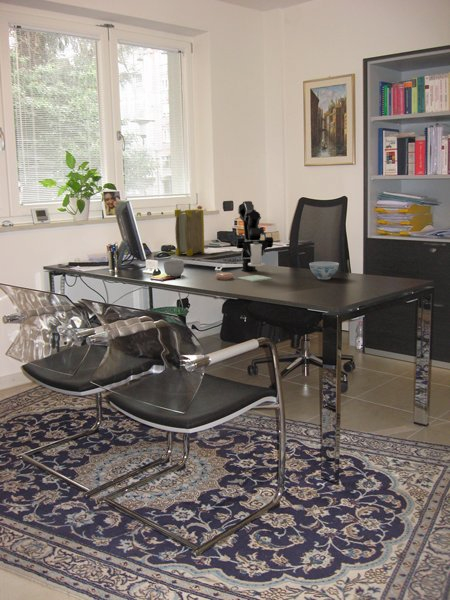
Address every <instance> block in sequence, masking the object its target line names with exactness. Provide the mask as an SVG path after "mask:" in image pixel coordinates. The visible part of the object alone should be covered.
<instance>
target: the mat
mask: <svg viewBox="0 0 450 600" xmlns="http://www.w3.org/2000/svg"><path fill="white" fill-rule="evenodd" d="M237 279H238V280H242V281H246V282H251V283H252V282H261V281H267V280H268V281H269V280H273V277H269V276H265V275H259V274H254V275H247V276H239V277H237Z"/></svg>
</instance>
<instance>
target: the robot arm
mask: <svg viewBox="0 0 450 600" xmlns="http://www.w3.org/2000/svg"><path fill="white" fill-rule="evenodd" d="M237 208H238V209H237V210H238V213H237V214H238V215H239V218H240V220H241V221H242V222H243V223H242V224H243V234H244V235H243V236H244V237H238V238H237V239H236V249H241V261H243V262H242V269H241V272H248V273H249V272H255V271H256V272H257V271H258V269H256V267H257V266H248V263H251V244H253V242H259V244H261V248H262V257H263V256H264V252H265V250H266V249H268V248H273V245H274V244H273V243H274V238H273V237H272V236H268V237H267V236H266V237H265V239H261V235H263V234H264V233H265V229H264V227H262V226H261V227H259V224H260V221H261V219H262V216H261V214H260V212H259V211H256V209H255V206H254V204H253V201H251V200H245V201H242V203H241V204H239V205H238V207H237ZM264 235H265V234H264Z"/></svg>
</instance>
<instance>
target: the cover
mask: <svg viewBox="0 0 450 600" xmlns="http://www.w3.org/2000/svg"><path fill="white" fill-rule="evenodd" d="M261 247H262V244H259V242H253V244H251V263H248V266H256V267H263V266H265V262H262V257H263V256H262V248H261Z"/></svg>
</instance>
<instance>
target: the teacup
mask: <svg viewBox="0 0 450 600" xmlns="http://www.w3.org/2000/svg"><path fill="white" fill-rule="evenodd" d="M184 264H185V263H184V260H183V259H182V260H181V259H174V260H173V259H172V260H166V261H164V262H163V271H164V273H165V275H167V276H168V275H170V276H174V277H179V276H181V275H183V273H184V271H185V267H184V266H185V265H184ZM170 276H169V277H170Z"/></svg>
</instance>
